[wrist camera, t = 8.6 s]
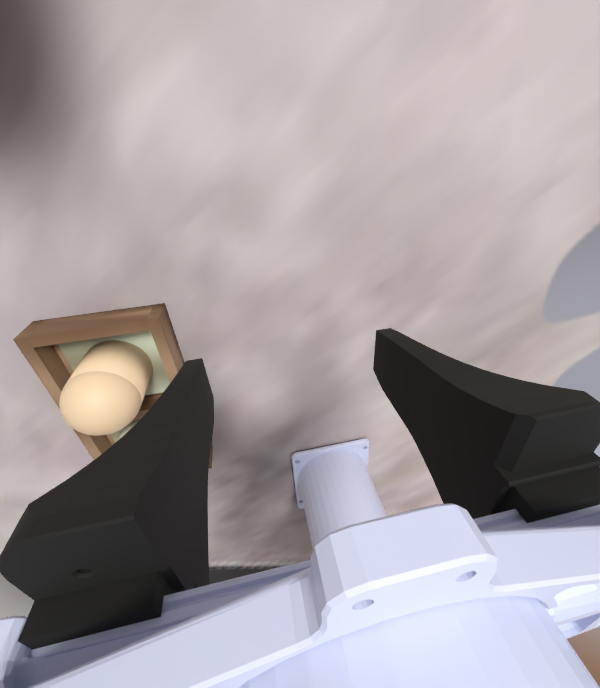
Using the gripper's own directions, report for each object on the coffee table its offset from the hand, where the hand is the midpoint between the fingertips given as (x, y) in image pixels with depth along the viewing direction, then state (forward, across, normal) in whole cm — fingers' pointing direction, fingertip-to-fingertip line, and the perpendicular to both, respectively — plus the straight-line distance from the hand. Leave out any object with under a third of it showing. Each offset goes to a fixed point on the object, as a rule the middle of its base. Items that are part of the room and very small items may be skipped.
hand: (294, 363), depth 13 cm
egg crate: (+10, +11, +8) cm, 17 cm away
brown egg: (+9, +11, +4) cm, 15 cm away
